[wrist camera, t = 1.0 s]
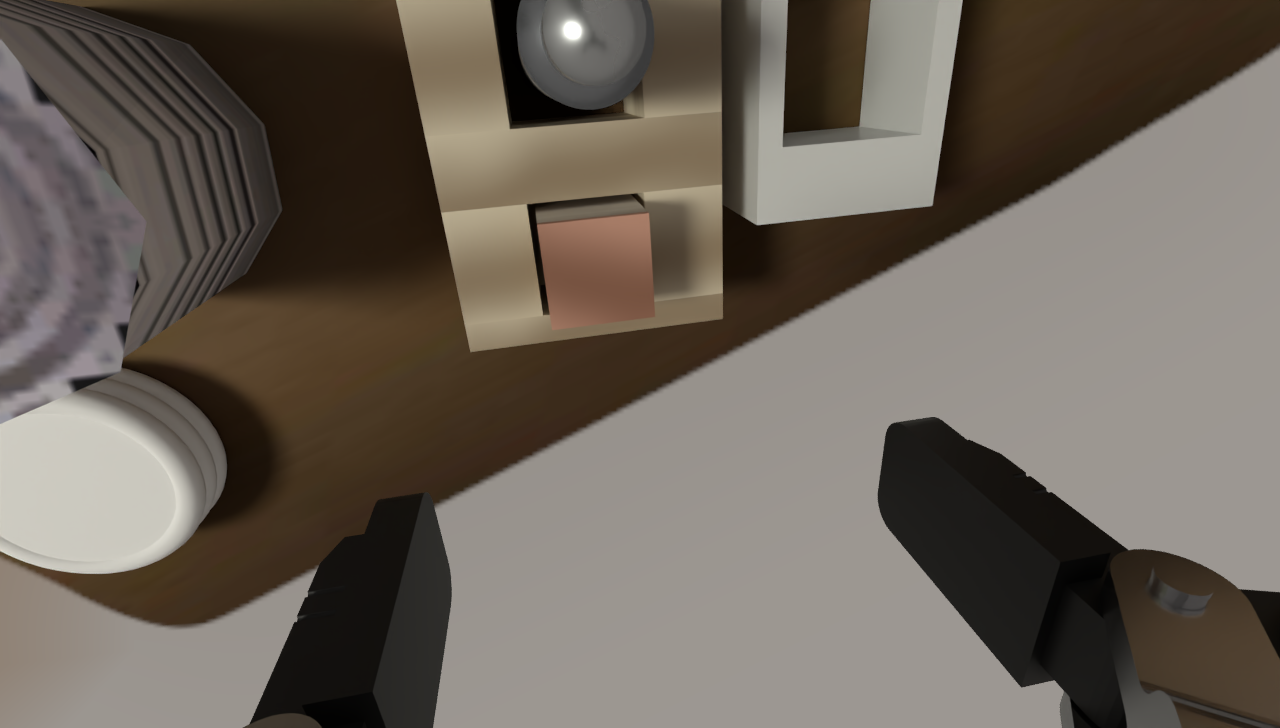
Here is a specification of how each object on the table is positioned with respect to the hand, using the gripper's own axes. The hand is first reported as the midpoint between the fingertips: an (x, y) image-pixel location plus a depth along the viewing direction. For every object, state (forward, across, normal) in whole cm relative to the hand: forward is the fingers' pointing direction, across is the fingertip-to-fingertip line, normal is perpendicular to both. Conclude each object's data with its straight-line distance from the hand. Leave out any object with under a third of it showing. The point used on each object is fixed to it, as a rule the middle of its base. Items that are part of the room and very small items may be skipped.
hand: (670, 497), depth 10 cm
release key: (+17, 0, 0) cm, 17 cm away
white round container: (+21, +24, +8) cm, 33 cm away
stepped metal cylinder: (+20, 0, -8) cm, 22 cm away
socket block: (+20, 0, -4) cm, 21 cm away
